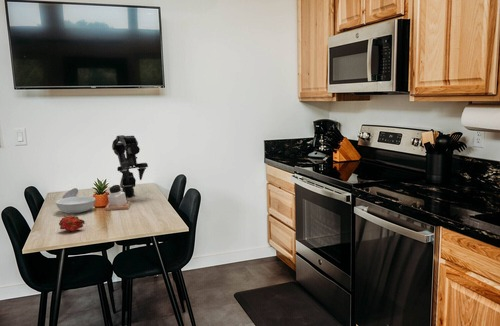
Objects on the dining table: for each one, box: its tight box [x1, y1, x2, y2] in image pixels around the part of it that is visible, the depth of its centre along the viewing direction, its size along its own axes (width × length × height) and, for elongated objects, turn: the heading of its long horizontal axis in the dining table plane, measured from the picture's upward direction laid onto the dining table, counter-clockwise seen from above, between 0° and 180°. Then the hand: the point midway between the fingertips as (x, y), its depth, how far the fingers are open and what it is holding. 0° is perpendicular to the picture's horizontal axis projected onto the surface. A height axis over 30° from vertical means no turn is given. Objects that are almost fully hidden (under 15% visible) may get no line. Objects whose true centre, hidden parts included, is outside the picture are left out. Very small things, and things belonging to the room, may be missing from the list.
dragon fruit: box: [58, 215, 86, 233], centre depth 206 cm, size 8×8×12 cm
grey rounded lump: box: [61, 187, 79, 199], centre depth 267 cm, size 11×10×10 cm
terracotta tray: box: [105, 200, 132, 212], centre depth 250 cm, size 12×12×2 cm
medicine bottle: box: [107, 184, 127, 207], centre depth 249 cm, size 7×7×12 cm
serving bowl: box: [55, 195, 96, 214], centre depth 244 cm, size 21×21×7 cm
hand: (134, 180), depth 264 cm, fingers open, 9 cm apart
